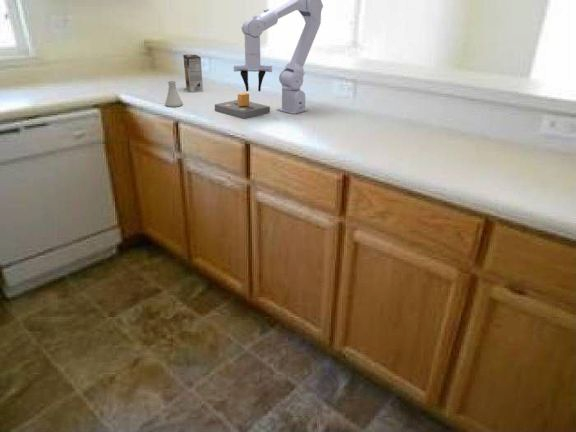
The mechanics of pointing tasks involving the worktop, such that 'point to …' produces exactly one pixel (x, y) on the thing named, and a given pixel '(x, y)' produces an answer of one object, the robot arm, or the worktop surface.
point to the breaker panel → (242, 109)
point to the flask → (173, 96)
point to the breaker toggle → (243, 99)
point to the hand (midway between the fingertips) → (253, 90)
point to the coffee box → (193, 73)
